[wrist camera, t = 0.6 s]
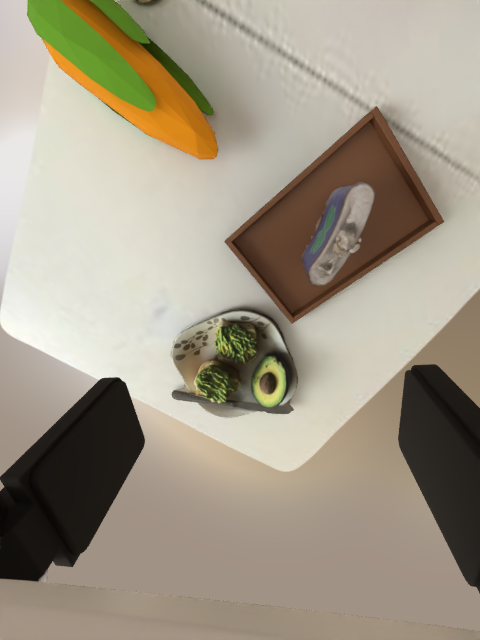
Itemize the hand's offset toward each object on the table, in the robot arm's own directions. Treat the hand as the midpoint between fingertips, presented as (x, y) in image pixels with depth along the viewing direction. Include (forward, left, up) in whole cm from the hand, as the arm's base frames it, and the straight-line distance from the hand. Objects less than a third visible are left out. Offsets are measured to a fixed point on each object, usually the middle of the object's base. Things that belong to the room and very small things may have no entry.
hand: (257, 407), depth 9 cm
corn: (-1, -22, -27) cm, 35 cm away
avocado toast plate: (+13, +9, -27) cm, 32 cm away
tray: (-7, +1, -27) cm, 28 cm away
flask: (-7, +1, -27) cm, 28 cm away
